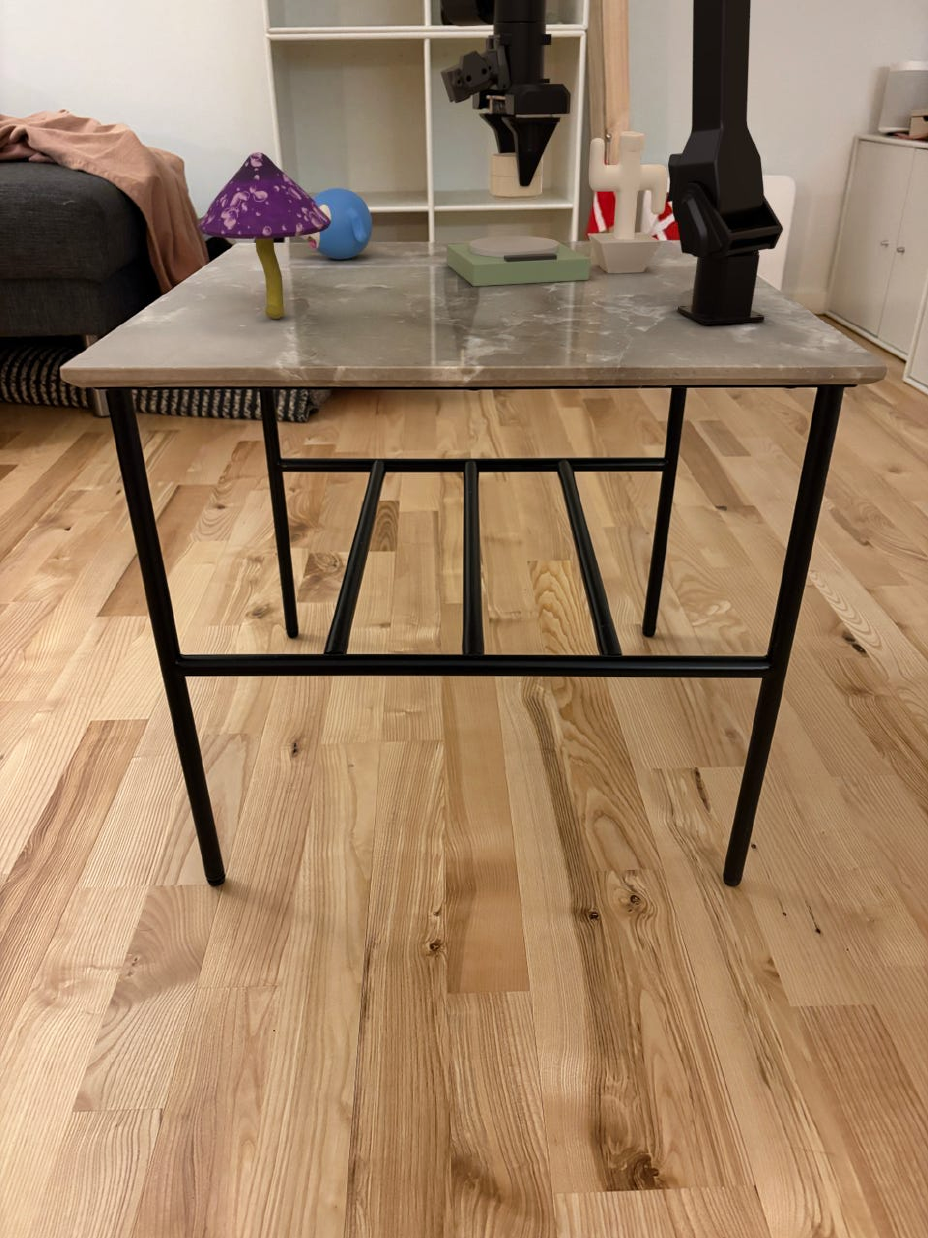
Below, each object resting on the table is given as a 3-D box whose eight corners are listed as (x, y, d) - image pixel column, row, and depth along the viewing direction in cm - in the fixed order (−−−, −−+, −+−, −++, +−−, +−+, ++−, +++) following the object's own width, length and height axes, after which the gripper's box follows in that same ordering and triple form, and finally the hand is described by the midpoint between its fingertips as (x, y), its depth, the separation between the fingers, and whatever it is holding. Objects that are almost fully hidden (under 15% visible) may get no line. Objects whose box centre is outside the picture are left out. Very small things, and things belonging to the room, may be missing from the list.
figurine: (667, 273, 111) (681, 132, 103) (590, 276, 110) (598, 134, 102) (650, 262, 117) (662, 129, 109) (577, 264, 116) (584, 130, 108)
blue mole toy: (266, 260, 120) (258, 189, 116) (341, 249, 127) (336, 182, 123) (317, 272, 113) (311, 197, 108) (394, 260, 119) (391, 189, 115)
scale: (589, 279, 108) (591, 250, 106) (473, 286, 105) (473, 256, 103) (551, 259, 120) (552, 232, 118) (446, 264, 117) (446, 237, 115)
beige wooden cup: (548, 200, 106) (549, 155, 104) (497, 202, 105) (498, 157, 102) (532, 194, 111) (533, 151, 109) (484, 196, 110) (484, 153, 107)
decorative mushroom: (204, 311, 95) (180, 149, 88) (322, 300, 99) (309, 144, 91) (221, 339, 85) (195, 159, 78) (352, 327, 89) (340, 154, 81)
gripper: (428, 26, 105) (432, 177, 113) (467, 19, 90) (468, 194, 98) (522, 26, 107) (519, 174, 115) (576, 19, 92) (568, 190, 100)
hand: (516, 182), depth 107 cm, fingers closed on beige wooden cup, 6 cm apart
